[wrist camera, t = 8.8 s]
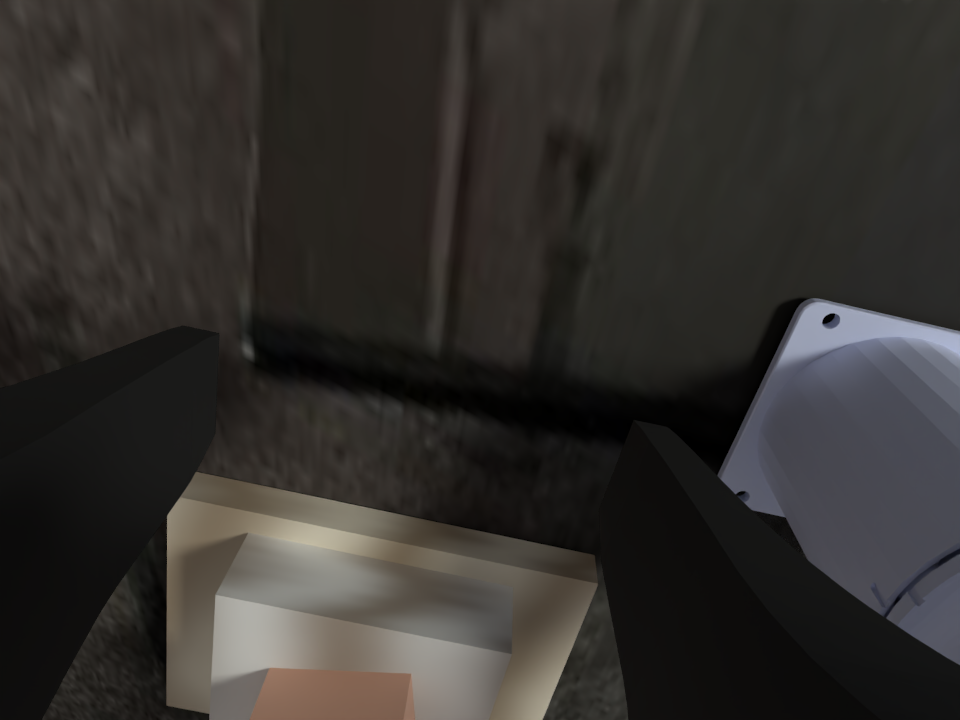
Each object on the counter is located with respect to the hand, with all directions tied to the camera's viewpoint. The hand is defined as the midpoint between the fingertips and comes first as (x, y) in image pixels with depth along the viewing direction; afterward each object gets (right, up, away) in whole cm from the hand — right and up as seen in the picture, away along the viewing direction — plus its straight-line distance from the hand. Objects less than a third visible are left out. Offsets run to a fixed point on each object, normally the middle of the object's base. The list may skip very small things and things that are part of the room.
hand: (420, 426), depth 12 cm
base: (-4, -10, +17) cm, 20 cm away
